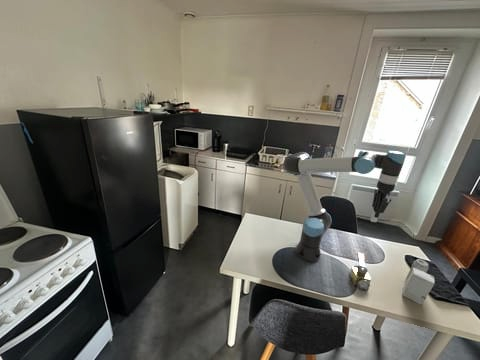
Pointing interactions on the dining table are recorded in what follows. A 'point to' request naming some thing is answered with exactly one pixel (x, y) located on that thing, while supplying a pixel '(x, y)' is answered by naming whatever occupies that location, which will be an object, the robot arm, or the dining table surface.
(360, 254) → the lever
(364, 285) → the valve
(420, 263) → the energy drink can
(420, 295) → the skincare box
